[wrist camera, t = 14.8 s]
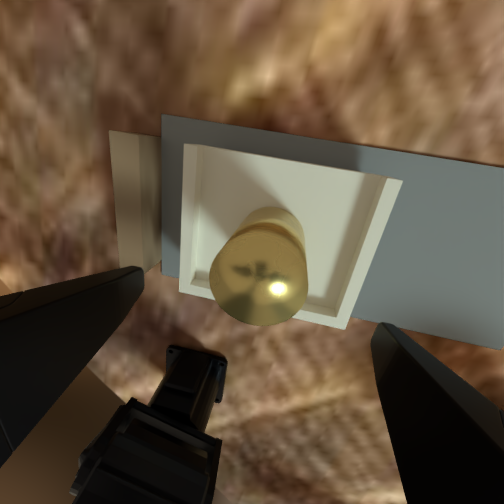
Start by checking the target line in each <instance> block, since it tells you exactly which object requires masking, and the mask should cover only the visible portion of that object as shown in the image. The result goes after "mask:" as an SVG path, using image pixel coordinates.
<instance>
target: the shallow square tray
mask: <svg viewBox="0 0 504 504" xmlns="http://www.w3.org/2000/svg"><path fill="white" fill-rule="evenodd" d="M402 183H403V181H402V180H399V179H395V178H392V177H388V176H383V175H377V174H371V173H365V172H359V171H353V170H348V169H342V168H336V167H330V166H324V165H318V164H312V163H306V162H300V161H294V160H288V159H282V158H276V157H271V156H265V155H259V154H253V153H247V152H241V151H235V150H229V149H223V148H217V147H211V146H205V145H200V144H184V155H183V185H182V216H181V246H180V277H179V292H183V293H187V294H192V295H196V296H200V297H205V298H209V299H213V300H215V298H214V297H213V294H212V292H211V288H210V284H209V272H210V268H211V264H212V262H213V260H214V258H215V257H216V255H217V254H218V253H219V251H220V250H221V249H222V248H223V246H224V245H225V244H226V242H227V241H228V240H229V238H230V237H231V236H232V235H233V233H234V232H235V231H236V229H237V228H238V227H239V226H240V224H241V223H242V222H243V220H244V219H245V218H246V217H247V216H248V215H249V214H250V213H252V212H253V211H255V210H257V209H260V208H263V207H278V208H282V209H284V210H286V211H288V212H290V213H291V214H293V215H294V216H295V217H296V218H297V219H298V221H299V222H300V224H301V226H302V228H303V231H304V236H305V248H306V260H307V272H308V284H309V285H308V294H307V298H306V300H305V303H304V304H303V306H302V308H301V309H300V310H299V311H298V312H297V313H296V314H295V315H294V316H293V317H292V318H296V319H300V320H305V321H309V322H313V323H318V324H322V325H326V326H331V327H335V328H340V329H344V330H345V328H346V326H347V323H348V320H349V318H350V315H351V313H352V310H353V308H354V305H355V303H356V300H357V297H358V295H359V292H360V290H361V287H362V285H363V282H364V280H365V277H366V274H367V272H368V269H369V267H370V264H371V262H372V259H373V257H374V254H375V251H376V249H377V246H378V244H379V241H380V239H381V236H382V234H383V231H384V229H385V226H386V223H387V221H388V218H389V216H390V213H391V211H392V208H393V206H394V203H395V200H396V198H397V195H398V193H399V190H400V188H401V185H402Z"/></svg>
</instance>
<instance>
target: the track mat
mask: <svg viewBox="0 0 504 504" xmlns="http://www.w3.org/2000/svg"><path fill="white" fill-rule="evenodd" d="M184 144H200V145H205V146H211V147H217V148H223V149H229V150H235V151H241V152H247V153H253V154H259V155H265V156H271V157H276V158H282V159H288V160H294V161H300V162H306V163H312V164H318V165H324V166H330V167H336V168H342V169H348V170H353V171H359V172H365V173H371V174H377V175H383V176H388V177H392V178H395V179H399V180H402V181H403V183H402V185H401V188H400V190H399V193H398V195H397V198H396V200H395V203H394V206H393V208H392V211H391V213H390V216H389V218H388V221H387V223H386V226H385V229H384V231H383V234H382V236H381V239H380V241H379V244H378V246H377V249H376V251H375V254H374V257H373V259H372V262H371V264H370V267H369V269H368V272H367V274H366V277H365V280H364V282H363V285H362V287H361V290H360V292H359V295H358V297H357V300H356V303H355V305H354V308H353V310H352V313H351V315H350V317H354V318H358V319H363V320H367V321H372V322H376V323H380V322H386V323H391V324H393V325H395V326H396V327H398V328H403V329H407V330H412V331H416V332H421V333H425V334H430V335H434V336H439V337H443V338H447V339H452V340H456V341H461V342H465V343H470V344H474V345H479V346H483V347H488V348H492V349H496V350H501V349H502V348H503V346H504V168H499V167H493V166H487V165H480V164H474V163H468V162H461V161H455V160H449V159H443V158H436V157H430V156H424V155H417V154H411V153H405V152H399V151H392V150H386V149H380V148H373V147H367V146H361V145H354V144H348V143H342V142H336V141H329V140H323V139H317V138H310V137H304V136H298V135H292V134H285V133H279V132H273V131H266V130H260V129H254V128H248V127H241V126H235V125H229V124H222V123H216V122H210V121H204V120H197V119H191V118H185V117H178V116H172V115H166V114H161V156H162V275H167V276H171V277H176V278H179V277H180V246H181V216H182V185H183V155H184Z"/></svg>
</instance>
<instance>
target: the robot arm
mask: <svg viewBox="0 0 504 504" xmlns="http://www.w3.org/2000/svg"><path fill="white" fill-rule="evenodd" d="M143 290H144V270H143V268H142V267H138V266H127V267H123V268H119V269H115V270H110V271H106V272H102V273H98V274H93V275H89V276H85V277H81V278H76V279H72V280H68V281H64V282H59V283H55V284H51V285H46V286H42V287H38V288H34V289H29V290H25V291H24V292H23V291H21V292H16V293H12V294H9V295H4V296H0V468H1V466H2V465H3V464H4V463H5V462H6V461H7V459H8V458H9V457H10V456H11V454H12V452H13V451H15V450H16V448H17V447H18V446H19V445H20V444H21V442H22V441H23V440H24V439H25V438H26V436H27V435H28V434H29V433H30V431H31V430H32V429H33V428H34V427H35V426H36V424H37V423H38V422H39V421H40V420H41V418H42V417H43V416H44V415H45V414H46V413H47V411H48V410H49V409H50V408H51V407H52V405H53V404H54V403H55V402H56V400H57V399H58V398H59V397H60V396H61V395H62V393H63V392H64V391H65V390H66V389H67V387H68V386H69V385H70V384H71V383H72V381H73V380H74V379H75V378H76V377H77V375H78V374H79V373H80V372H81V370H82V369H83V368H84V367H85V366H86V365H87V364H88V362H89V361H90V360H91V359H92V358H93V356H94V355H95V354H96V353H97V352H98V350H99V349H100V348H101V347H102V346H103V344H104V343H105V342H106V341H107V340H108V338H109V337H110V336H111V335H112V334H113V333H114V331H115V330H116V329H117V328H118V326H119V325H120V324H121V323H122V321H123V320H124V319H125V317H126V316H127V314H128V313H129V311H130V310H131V308H132V307H133V305H134V304H135V302H136V301H137V299H138V298H139V296H140V295H141V293H142V292H143ZM371 352H372V359H373V365H374V372H375V379H376V385H377V389H378V394H379V397H380V401H381V405H382V409H383V413H384V417H385V420H386V424H387V428H388V432H389V436H390V440H391V443H392V447H393V451H394V455H395V459H396V462H397V466H398V470H399V474H400V478H401V482H402V485H403V489H404V493H405V497H406V501H407V504H504V411H503V410H499V408H498V407H497V406H496V405H495V404H494V403H492V402H491V401H490V400H489V399H487V398H486V397H485V396H484V395H482V394H481V393H480V392H478V391H477V390H476V389H475V388H473V387H472V386H471V385H470V384H468V383H467V382H466V381H464V380H463V379H462V378H461V377H459V376H458V375H457V374H456V373H454V372H453V371H452V370H451V369H449V368H448V367H447V366H445V365H444V364H443V363H442V362H440V361H439V360H438V359H437V358H435V357H434V356H433V355H432V354H430V353H429V352H428V351H426V350H425V349H424V348H423V347H421V346H420V345H419V344H418V343H416V342H415V341H414V340H413V339H411V338H410V337H409V336H407V335H406V334H405V333H404V332H402V331H401V330H400V329H399V328H397V327H396V326H395V325H393V324H391V323H386V322H380V323H379V324H378V325H377V328H376V330H375V332H374V334H373V336H372V339H371ZM227 364H228V361H227V360H226V359H225V358H221V357H218V356H214V355H210V354H206V353H202V352H198V351H194V350H190V349H186V348H182V347H178V346H174V345H170V346H169V347H168V348H167V350H166V374H165V376H164V377H163V379H162V381H161V383H160V384H159V386H158V388H157V389H156V391H155V393H154V395H153V396H152V398H151V400H150V401H149V403H148V405H145V404H143V403H141V402H139V401H137V399H135V398H133V397H131V399H130V400H129V401H128V403H127V404H126V405H121V406H119V408H118V409H117V411H116V412H115V414H114V415H113V417H112V418H111V419H110V421H109V422H108V423H107V425H106V426H105V427H104V428H103V429H102V431H101V432H100V433H99V434H98V435H97V436H96V437H95V438H94V439H93V440H92V441H91V443H90V444H89V445H88V446H87V447H86V448H85V449H84V451H83V452H82V453H81V455H80V457H79V470H78V472H77V474H76V479H75V481H74V483H73V485H72V487H71V489H70V494H72V495H75V496H76V498H75V500H74V501H73V503H72V504H212V500H213V495H214V490H215V484H216V477H217V471H218V465H219V458H220V452H221V446H222V440H221V439H219V438H214V437H212V436H210V435H208V434H205V433H204V432H205V429H206V426H207V423H208V420H209V417H210V414H211V411H212V408H213V405H214V402H215V403H220V402H221V401H222V397H223V390H224V384H225V377H226V370H227Z"/></svg>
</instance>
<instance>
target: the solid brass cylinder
mask: <svg viewBox="0 0 504 504" xmlns="http://www.w3.org/2000/svg"><path fill="white" fill-rule="evenodd" d="M209 284H210V288H211V292H212V294H213V297H214V298H215V300H216V302H217V303H218V304H219V306H220V307H221V308H222V309H223V310H224V311H225V312H226V313H227V314H229V315H230V316H232V317H233V318H235V319H237V320H239V321H241V322H244V323H247V324H250V325H256V326H270V325H275V324H279V323H282V322H284V321H286V320H288V319H290V318H291V317H293V316H294V315H295V314H296V313H297V312H298V311H299V310H300V309H301V308H302V306H303V304H304V303H305V300H306V298H307V294H308V285H309V284H308V272H307V260H306V248H305V236H304V231H303V228H302V226H301V224H300V222H299V221H298V219H297V218H296V217H295V216H294V215H293V214H291V213H290V212H288V211H286V210H284V209H282V208H278V207H263V208H260V209H257V210H255V211H253V212H252V213H250V214H249V215H248V216H247V217H246V218H245V219H244V220H243V222H242V223H241V224H240V226H239V227H238V228H237V229H236V231H235V232H234V233H233V235H232V236H231V237H230V238H229V240H228V241H227V242H226V244H225V245H224V246H223V248H222V249H221V250H220V251H219V253H218V254H217V255H216V257H215V258H214V260H213V262H212V264H211V268H210V272H209Z"/></svg>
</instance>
